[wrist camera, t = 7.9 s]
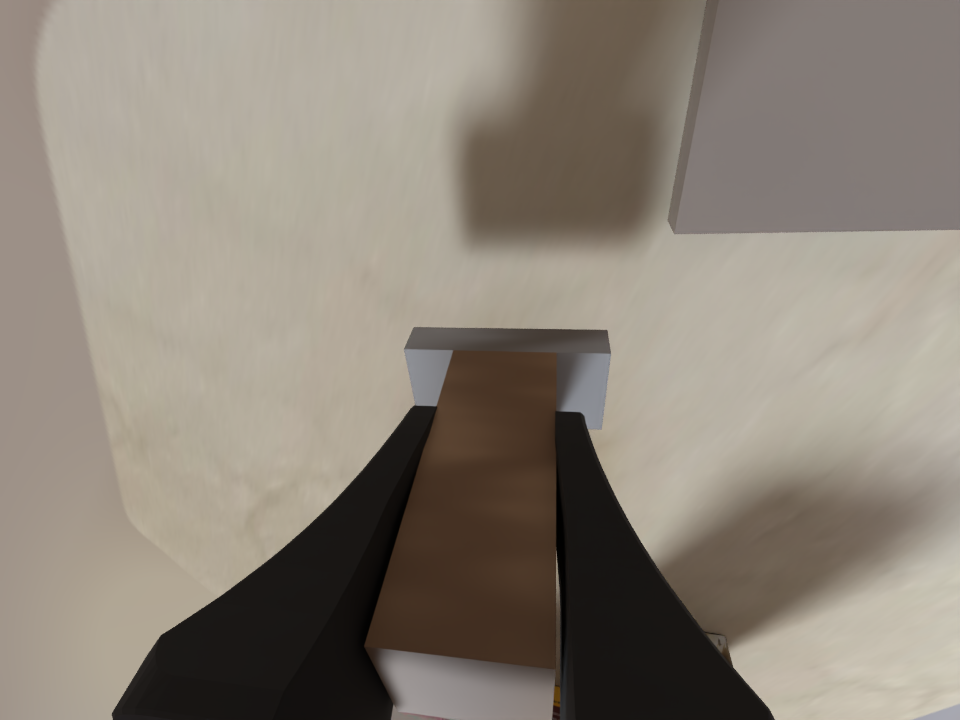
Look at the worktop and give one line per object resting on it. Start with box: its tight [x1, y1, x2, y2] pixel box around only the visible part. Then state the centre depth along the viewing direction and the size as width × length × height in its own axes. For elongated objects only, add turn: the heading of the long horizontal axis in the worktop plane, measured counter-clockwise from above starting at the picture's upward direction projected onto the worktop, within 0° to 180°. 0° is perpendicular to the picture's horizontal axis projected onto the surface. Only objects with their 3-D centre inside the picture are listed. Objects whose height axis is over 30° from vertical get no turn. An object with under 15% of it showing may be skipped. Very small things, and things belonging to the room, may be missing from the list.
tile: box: [668, 0, 960, 234], centre depth 13 cm, size 8×2×6 cm
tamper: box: [364, 327, 611, 720], centre depth 12 cm, size 6×3×9 cm, turn 94°
